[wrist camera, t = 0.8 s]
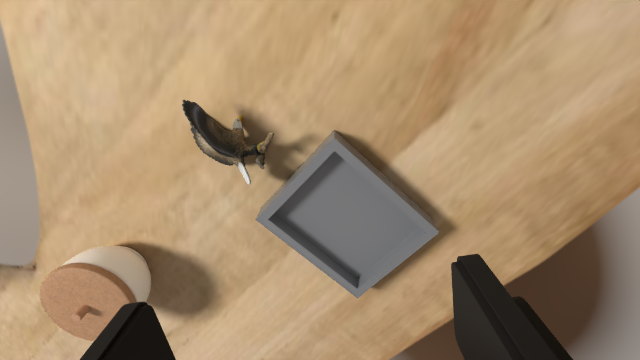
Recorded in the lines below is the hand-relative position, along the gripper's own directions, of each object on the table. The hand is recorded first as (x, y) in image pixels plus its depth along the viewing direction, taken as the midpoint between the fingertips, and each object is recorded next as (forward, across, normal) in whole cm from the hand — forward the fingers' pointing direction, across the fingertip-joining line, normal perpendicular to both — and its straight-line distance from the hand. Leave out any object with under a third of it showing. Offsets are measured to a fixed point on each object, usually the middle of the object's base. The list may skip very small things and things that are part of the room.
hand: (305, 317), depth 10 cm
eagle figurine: (+29, +10, -1) cm, 31 cm away
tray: (+28, -1, +11) cm, 31 cm away
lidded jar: (+30, +29, +14) cm, 44 cm away
